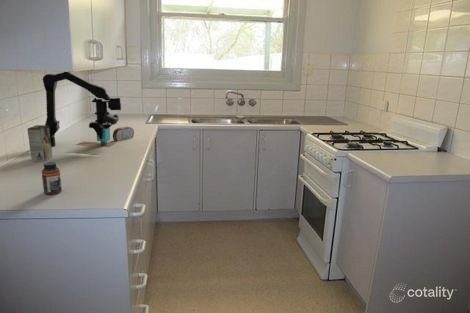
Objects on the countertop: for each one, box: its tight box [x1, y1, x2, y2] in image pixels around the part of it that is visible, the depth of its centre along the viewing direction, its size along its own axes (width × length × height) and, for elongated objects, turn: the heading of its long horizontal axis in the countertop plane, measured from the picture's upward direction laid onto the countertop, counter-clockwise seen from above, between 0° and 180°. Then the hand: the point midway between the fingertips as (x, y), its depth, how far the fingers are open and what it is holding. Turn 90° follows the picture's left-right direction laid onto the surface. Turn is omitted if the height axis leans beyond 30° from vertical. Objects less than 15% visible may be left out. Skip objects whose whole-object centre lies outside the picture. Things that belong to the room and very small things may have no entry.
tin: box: [112, 126, 135, 142], centre depth 219 cm, size 15×3×8 cm, turn 150°
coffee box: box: [27, 124, 53, 162], centre depth 175 cm, size 9×6×16 cm
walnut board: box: [75, 141, 116, 148], centre depth 205 cm, size 9×20×1 cm, turn 82°
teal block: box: [96, 127, 111, 142], centre depth 203 cm, size 5×5×7 cm
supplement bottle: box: [41, 161, 63, 196], centre depth 133 cm, size 6×6×11 cm
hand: (103, 138), depth 203 cm, fingers closed on teal block, 5 cm apart
